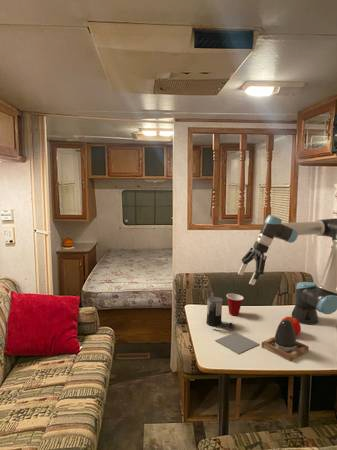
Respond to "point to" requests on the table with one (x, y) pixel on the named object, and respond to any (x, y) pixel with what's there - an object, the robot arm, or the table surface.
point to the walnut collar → (289, 357)
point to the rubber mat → (237, 343)
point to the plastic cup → (234, 303)
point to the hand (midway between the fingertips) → (245, 279)
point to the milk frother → (215, 312)
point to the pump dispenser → (285, 336)
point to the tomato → (294, 324)
